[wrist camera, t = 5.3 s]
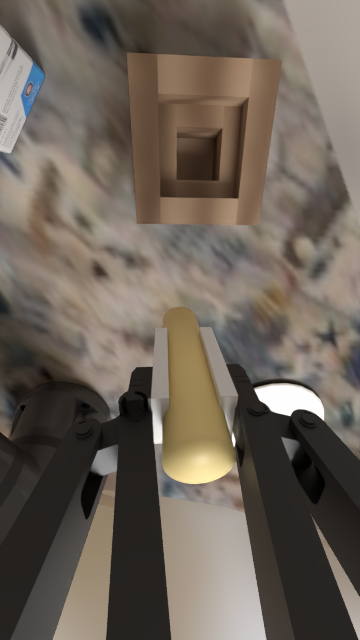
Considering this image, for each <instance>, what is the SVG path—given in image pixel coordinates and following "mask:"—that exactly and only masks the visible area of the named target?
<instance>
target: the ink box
mask: <svg viewBox="0 0 360 640" xmlns="http://www.w3.org/2000/svg"><path fill="white" fill-rule="evenodd" d="M44 78H45V74H44V72H43V71H42V70H41V68H40V67H39V66H38V65H37V64H36V63H35V62H34V61H33V60H32V59H31V57H30V56H29V55H28V54H27V53H26V52H25V51H24V50H23V49H22V48H21V47H20V46H19V44H18V43H17V42H16V41H15V40H14V39H13V38H12V37H11V36H10V34H9V33H8V32H7V31H6V30H5V29H4V28H3V27H2V26H1V25H0V151H2V152H5V153H11V152H12V149H13V147H14V145H15V143H16V140H17V138H18V136H19V134H20V131H21V129H22V127H23V125H24V123H25V120H26V118H27V116H28V113H29V111H30V109H31V107H32V104H33V102H34V100H35V98H36V95H37V93H38V91H39V89H40V87H41V84H42V82H43V80H44Z"/></svg>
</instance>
